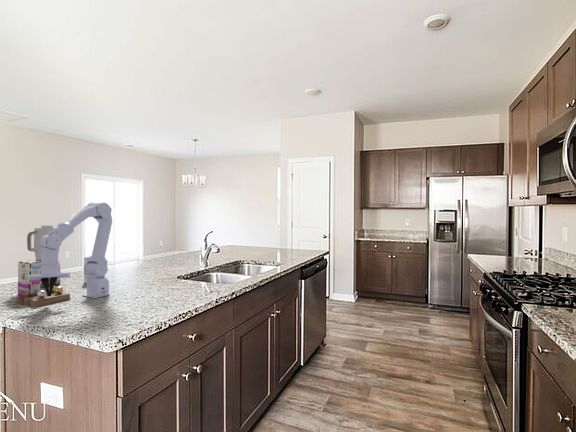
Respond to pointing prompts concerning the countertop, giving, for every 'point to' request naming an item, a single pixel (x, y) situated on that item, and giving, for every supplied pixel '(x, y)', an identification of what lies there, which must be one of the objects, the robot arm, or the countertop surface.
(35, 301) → the brown square tray
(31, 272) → the candy bar box
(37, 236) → the blender
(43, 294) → the steel ball
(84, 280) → the syrup box
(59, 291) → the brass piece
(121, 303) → the countertop surface
